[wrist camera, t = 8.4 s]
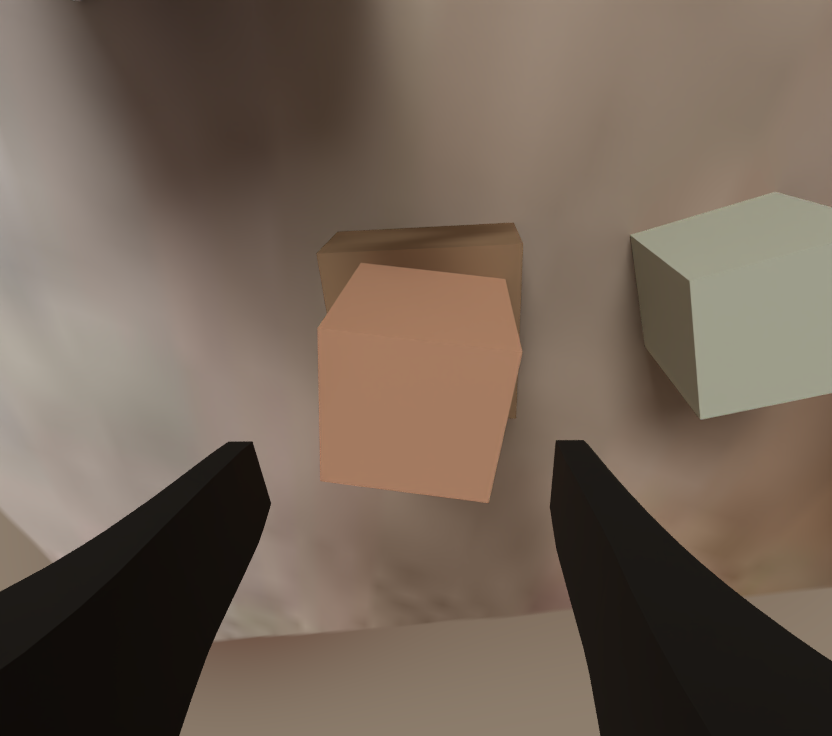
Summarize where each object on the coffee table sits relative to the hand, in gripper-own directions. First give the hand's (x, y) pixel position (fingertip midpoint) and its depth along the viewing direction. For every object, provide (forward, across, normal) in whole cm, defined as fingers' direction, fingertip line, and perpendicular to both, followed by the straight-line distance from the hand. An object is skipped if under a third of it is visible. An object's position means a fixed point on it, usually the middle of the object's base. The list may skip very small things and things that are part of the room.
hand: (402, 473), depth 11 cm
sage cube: (+10, -11, -1) cm, 15 cm away
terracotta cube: (+7, 0, 0) cm, 7 cm away
